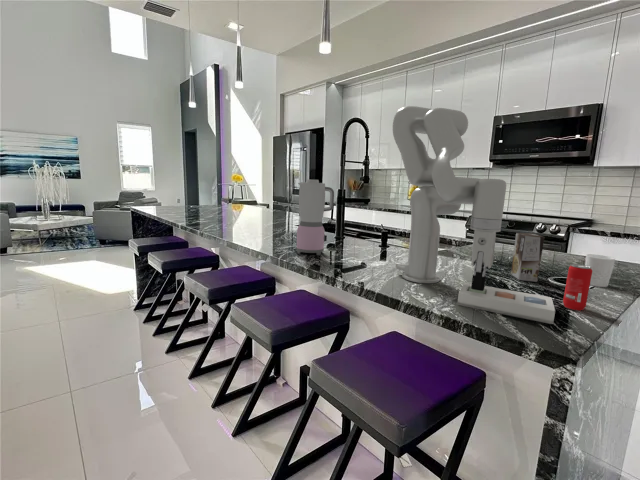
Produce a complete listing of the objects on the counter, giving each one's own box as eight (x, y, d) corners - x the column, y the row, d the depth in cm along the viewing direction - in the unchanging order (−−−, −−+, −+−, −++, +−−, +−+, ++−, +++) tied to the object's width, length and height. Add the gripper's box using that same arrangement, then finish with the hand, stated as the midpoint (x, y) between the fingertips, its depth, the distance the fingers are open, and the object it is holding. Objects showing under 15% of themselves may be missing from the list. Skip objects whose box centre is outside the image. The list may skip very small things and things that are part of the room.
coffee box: (538, 282, 121) (545, 236, 118) (518, 280, 122) (525, 235, 119) (528, 275, 130) (534, 233, 127) (509, 273, 131) (515, 231, 128)
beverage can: (557, 304, 98) (564, 263, 96) (574, 304, 99) (581, 263, 97) (572, 311, 93) (580, 268, 91) (590, 311, 94) (598, 268, 92)
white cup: (603, 282, 124) (609, 255, 122) (614, 289, 116) (619, 260, 114) (577, 280, 126) (582, 253, 124) (586, 285, 119) (591, 257, 117)
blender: (294, 255, 147) (296, 179, 141) (296, 249, 159) (299, 179, 153) (331, 256, 146) (335, 180, 141) (330, 250, 158) (334, 180, 153)
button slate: (525, 309, 90) (526, 300, 89) (524, 305, 93) (526, 295, 93) (543, 313, 88) (544, 303, 87) (542, 308, 91) (543, 299, 91)
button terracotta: (495, 303, 93) (496, 294, 93) (496, 299, 97) (497, 290, 96) (512, 307, 91) (513, 297, 91) (512, 302, 95) (513, 293, 94)
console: (457, 304, 94) (458, 292, 94) (463, 293, 105) (464, 282, 104) (553, 324, 84) (555, 311, 83) (549, 309, 94) (551, 297, 93)
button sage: (467, 298, 97) (468, 289, 96) (469, 294, 100) (470, 286, 100) (483, 301, 95) (484, 292, 94) (484, 297, 98) (485, 288, 98)
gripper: (499, 229, 85) (490, 299, 88) (502, 223, 98) (494, 285, 101) (467, 225, 89) (459, 293, 92) (473, 221, 102) (466, 280, 105)
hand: (477, 289), depth 97 cm, fingers closed
